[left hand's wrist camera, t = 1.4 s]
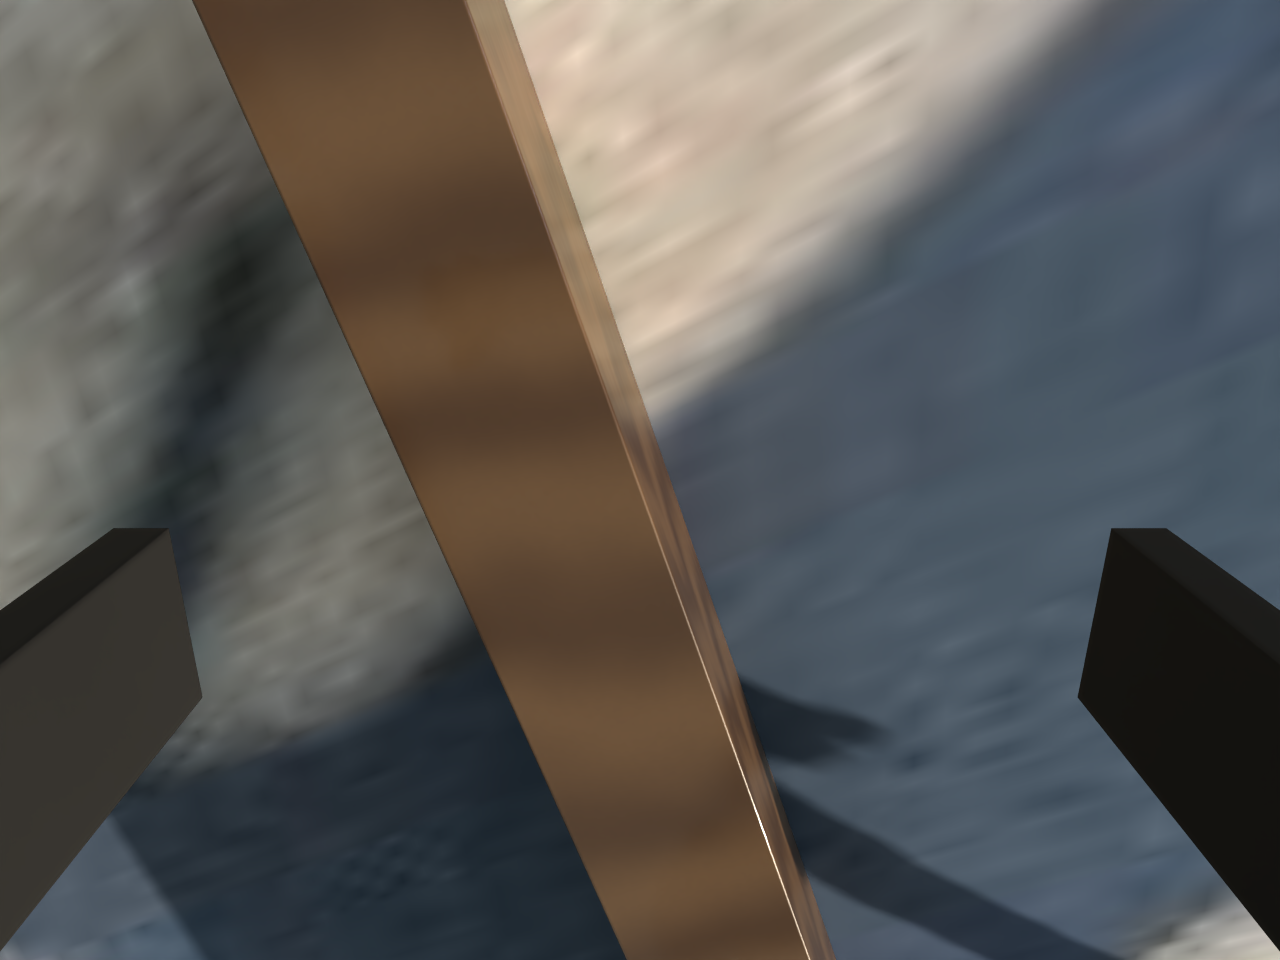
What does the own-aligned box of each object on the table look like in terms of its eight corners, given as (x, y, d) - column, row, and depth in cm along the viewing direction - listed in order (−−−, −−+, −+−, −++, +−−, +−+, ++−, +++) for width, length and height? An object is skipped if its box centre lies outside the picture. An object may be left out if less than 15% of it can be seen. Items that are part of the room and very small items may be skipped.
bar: (278, -57, 26) (127, -138, 18) (459, -132, 25) (377, -247, 18) (815, 1237, 45) (846, 1447, 38) (925, 1216, 44) (978, 1426, 37)
